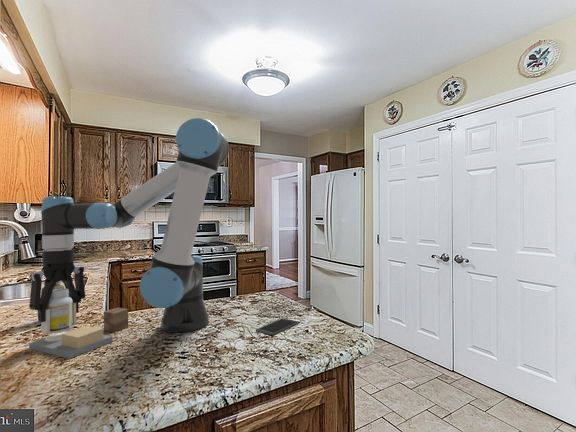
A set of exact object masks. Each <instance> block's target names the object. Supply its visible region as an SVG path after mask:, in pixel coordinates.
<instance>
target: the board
mask: <svg viewBox="0 0 576 432" xmlns="http://www.w3.org/2000/svg"><path fill="white" fill-rule="evenodd" d="M113 339H114V337H113V336H112V335H107V334H104V328H101V327H96V326H91V325H84V326H82V327H79V328H70V329H69V330H66V331H63V332H58V333H52V334H51V335H48V336H46V337H44V338H41V339H37V340H34V341H30V342H29V343H28V349H29V350H30V349H31V350H34V351H39V352H42V353H45V354H50V355H54V356H57V357H62V358H65V359H69V360H70V359H73V358H75V357H78V356H80V355H83V354H85V353H89V352H91V351H93V350H95V349H98V348H99V347H103V346H104V345H107V344H111V343H112V342H114V341H113Z"/></svg>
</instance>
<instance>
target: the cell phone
mask: <svg viewBox="0 0 576 432" xmlns="http://www.w3.org/2000/svg"><path fill="white" fill-rule="evenodd" d="M299 324H300V322H299V321H297V320H293V319H289V318H284V317H283V318H280V319H277V320H275V321H273V322H271V323H268V324H266V325H263V326H261V327H258V328H256V329H255V332H257V333H259V334H264V335H268V336H271V337H272V336H277V335H278V334H280V333H283V332H284V331H287V330H288V329H291V328H292V327H294V326H297V325H299Z"/></svg>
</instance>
